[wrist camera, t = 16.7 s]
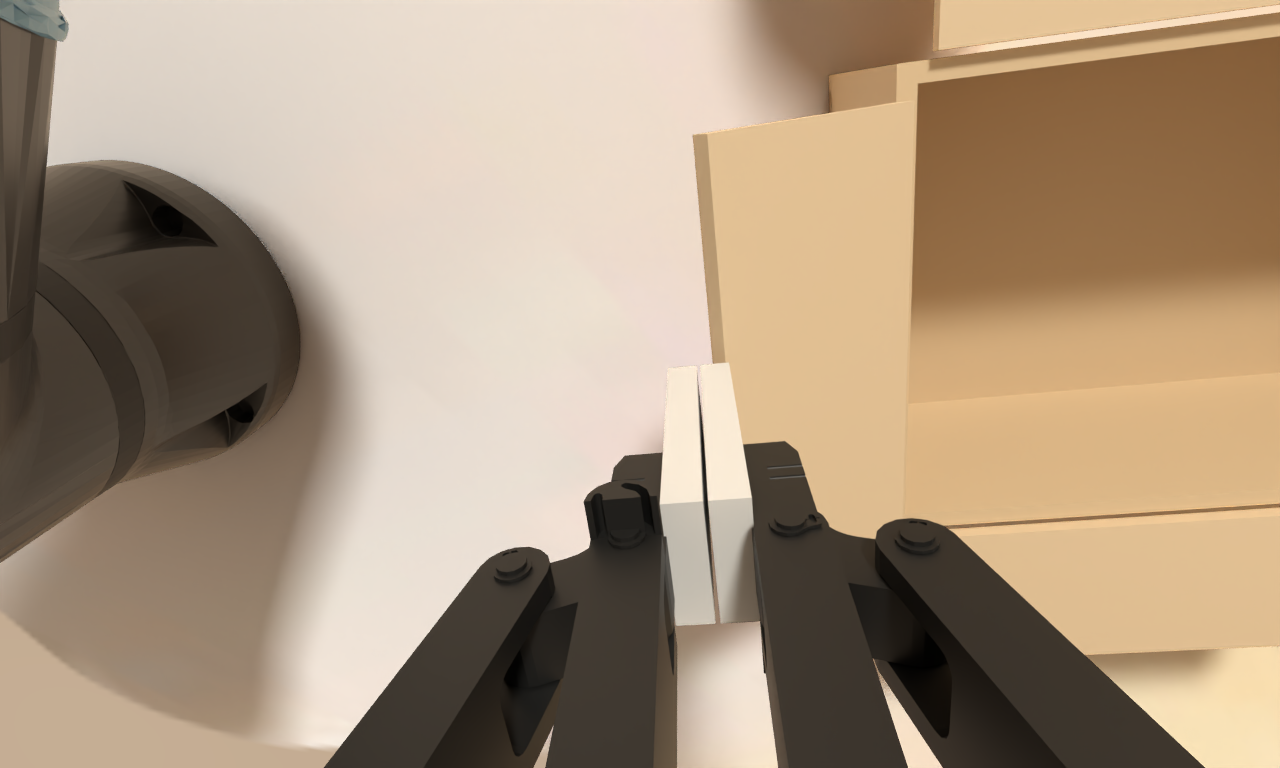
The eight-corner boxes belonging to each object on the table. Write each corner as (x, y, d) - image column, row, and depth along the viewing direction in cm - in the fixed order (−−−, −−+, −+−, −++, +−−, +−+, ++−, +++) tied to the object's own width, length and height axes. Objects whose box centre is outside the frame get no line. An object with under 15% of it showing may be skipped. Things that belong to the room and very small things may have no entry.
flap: (889, 519, 24) (733, 601, 22) (896, 101, 19) (692, 134, 16) (902, 526, 24) (745, 611, 21) (914, 100, 19) (707, 134, 16)
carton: (835, 517, 37) (888, 664, 27) (825, -99, 26) (907, -212, 17) (1317, 484, 35) (1561, 632, 25) (1521, -210, 24) (2086, -418, 14)
